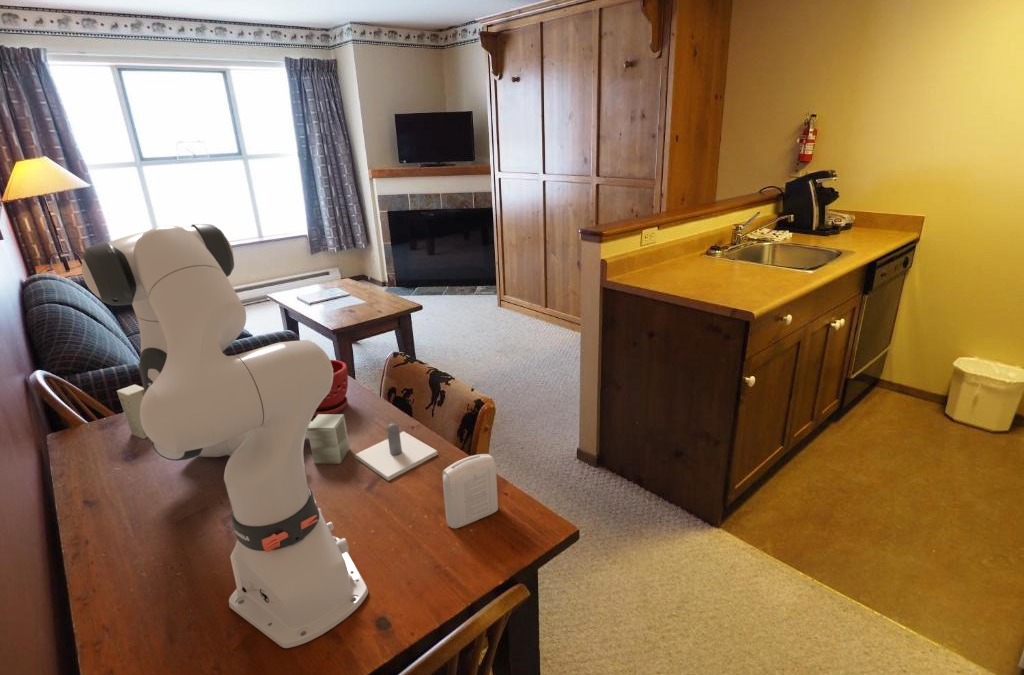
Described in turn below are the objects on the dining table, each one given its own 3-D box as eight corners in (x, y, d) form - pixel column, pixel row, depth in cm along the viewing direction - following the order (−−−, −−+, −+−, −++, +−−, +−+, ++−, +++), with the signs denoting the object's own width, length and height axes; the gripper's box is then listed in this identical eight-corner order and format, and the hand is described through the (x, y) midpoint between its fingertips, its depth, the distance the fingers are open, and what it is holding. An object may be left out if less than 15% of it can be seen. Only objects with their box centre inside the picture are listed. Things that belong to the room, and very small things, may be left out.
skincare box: (161, 432, 136) (147, 388, 132) (142, 440, 133) (128, 395, 129) (148, 425, 140) (135, 383, 135) (130, 433, 136) (115, 390, 132)
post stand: (437, 454, 121) (434, 422, 118) (388, 480, 113) (383, 446, 110) (403, 434, 130) (399, 404, 127) (355, 458, 121) (350, 425, 119)
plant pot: (339, 421, 138) (331, 378, 133) (291, 419, 140) (282, 377, 136) (360, 398, 150) (354, 358, 145) (316, 396, 152) (309, 357, 148)
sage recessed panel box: (314, 463, 120) (306, 427, 117) (324, 448, 126) (318, 414, 123) (340, 463, 120) (333, 427, 116) (349, 448, 125) (343, 414, 122)
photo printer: (490, 499, 106) (486, 444, 101) (502, 511, 102) (498, 455, 98) (442, 520, 101) (436, 463, 96) (453, 533, 97) (447, 475, 93)
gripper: (221, 450, 112) (285, 450, 110) (270, 404, 131) (325, 403, 130) (228, 476, 114) (291, 476, 113) (275, 426, 133) (329, 426, 132)
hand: (309, 437), depth 121 cm, fingers open, 8 cm apart
